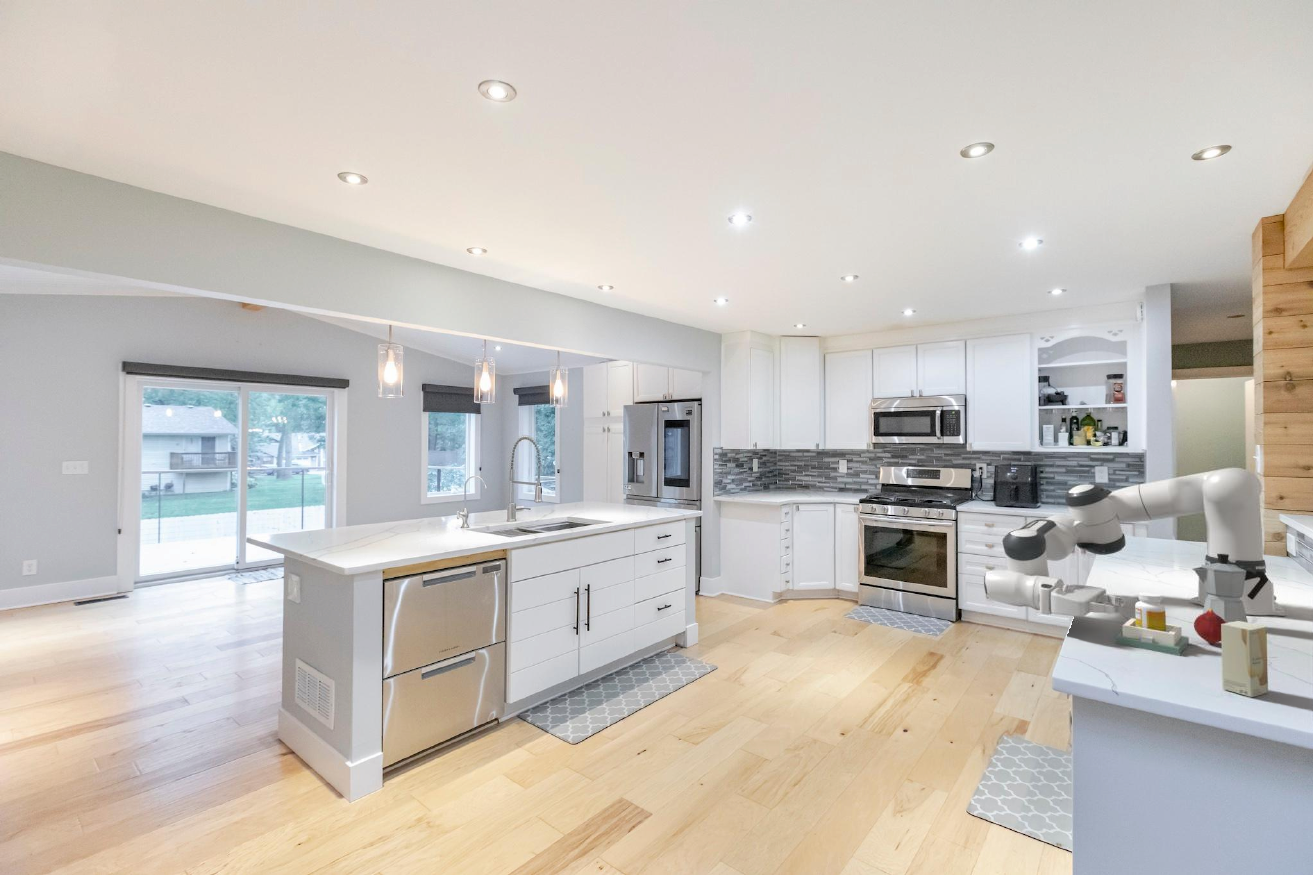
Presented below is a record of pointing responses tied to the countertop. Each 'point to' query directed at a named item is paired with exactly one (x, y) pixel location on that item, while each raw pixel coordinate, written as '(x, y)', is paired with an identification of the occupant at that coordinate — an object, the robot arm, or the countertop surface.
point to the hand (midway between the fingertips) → (1119, 606)
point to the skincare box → (1244, 658)
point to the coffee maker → (1228, 587)
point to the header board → (1153, 638)
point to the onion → (1209, 626)
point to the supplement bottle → (1150, 612)
